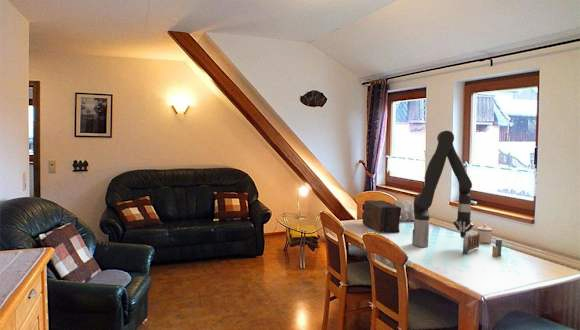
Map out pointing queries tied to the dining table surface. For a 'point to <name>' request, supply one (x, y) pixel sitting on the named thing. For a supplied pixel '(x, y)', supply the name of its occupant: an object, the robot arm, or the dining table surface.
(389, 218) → the decorative box
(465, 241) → the hinge post
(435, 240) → the dining table surface
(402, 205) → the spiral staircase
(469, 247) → the walnut gate
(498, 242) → the post
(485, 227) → the teacup with lid
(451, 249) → the dining table surface
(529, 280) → the dining table surface
